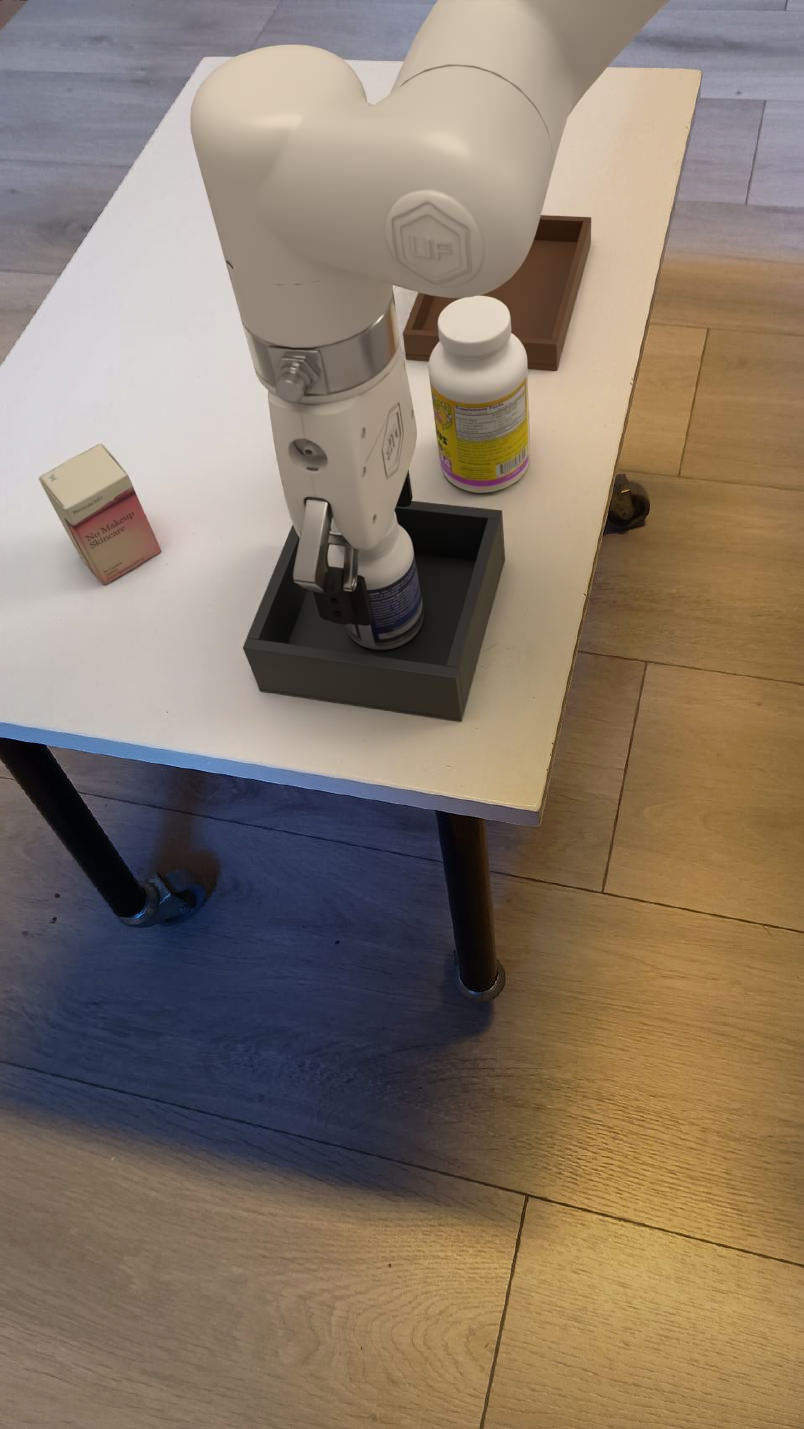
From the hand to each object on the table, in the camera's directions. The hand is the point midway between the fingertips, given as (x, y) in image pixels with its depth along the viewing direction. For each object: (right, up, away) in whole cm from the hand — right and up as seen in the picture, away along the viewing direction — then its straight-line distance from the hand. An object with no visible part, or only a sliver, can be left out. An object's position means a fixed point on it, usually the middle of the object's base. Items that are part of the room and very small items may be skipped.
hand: (368, 558), depth 69 cm
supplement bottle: (+8, +9, +13) cm, 17 cm away
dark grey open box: (+1, -4, +5) cm, 7 cm away
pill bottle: (+1, -4, +5) cm, 6 cm away
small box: (-18, +2, +12) cm, 22 cm away
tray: (+10, +25, +23) cm, 35 cm away
